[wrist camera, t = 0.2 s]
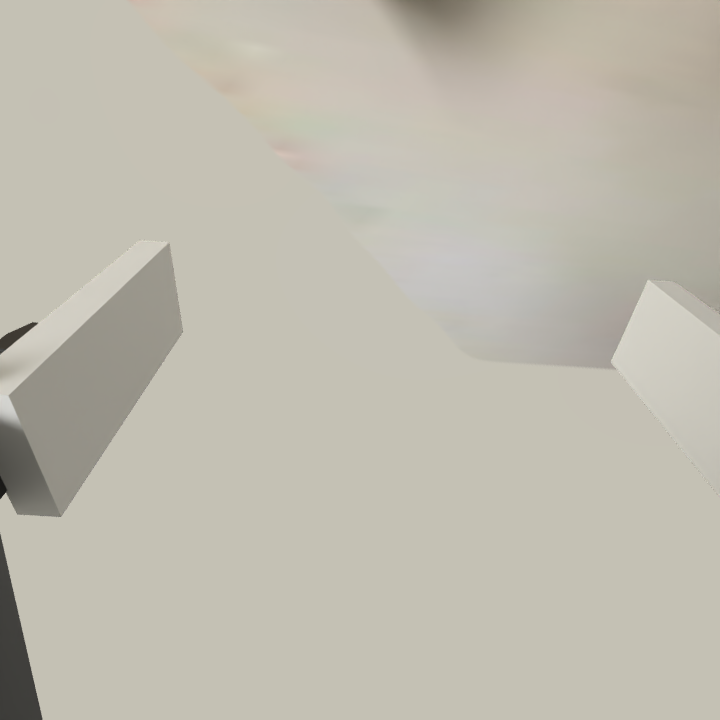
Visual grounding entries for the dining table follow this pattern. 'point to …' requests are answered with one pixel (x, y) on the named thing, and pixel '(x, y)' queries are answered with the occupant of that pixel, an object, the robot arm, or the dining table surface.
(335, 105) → the dining table surface
